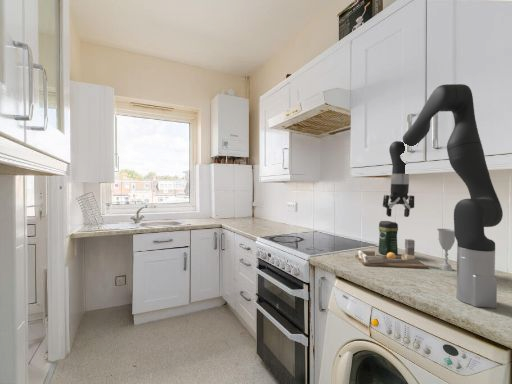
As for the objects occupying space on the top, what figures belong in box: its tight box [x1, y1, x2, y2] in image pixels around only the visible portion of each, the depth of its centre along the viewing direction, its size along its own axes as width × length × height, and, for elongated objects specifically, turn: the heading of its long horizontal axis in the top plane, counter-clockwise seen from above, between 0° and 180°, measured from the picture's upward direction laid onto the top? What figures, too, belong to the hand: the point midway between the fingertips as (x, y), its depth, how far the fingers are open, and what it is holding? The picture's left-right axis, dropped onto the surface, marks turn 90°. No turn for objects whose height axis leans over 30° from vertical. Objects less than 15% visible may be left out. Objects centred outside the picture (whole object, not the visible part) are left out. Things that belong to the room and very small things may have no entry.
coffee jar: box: [377, 220, 399, 256], centre depth 140 cm, size 10×8×19 cm
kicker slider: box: [401, 238, 416, 260], centre depth 122 cm, size 5×4×10 cm
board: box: [355, 249, 429, 270], centre depth 124 cm, size 16×28×4 cm, turn 83°
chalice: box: [437, 228, 456, 272], centre depth 114 cm, size 7×7×18 cm
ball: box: [387, 252, 397, 259], centre depth 123 cm, size 4×4×4 cm
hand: (397, 216), depth 121 cm, fingers open, 8 cm apart
